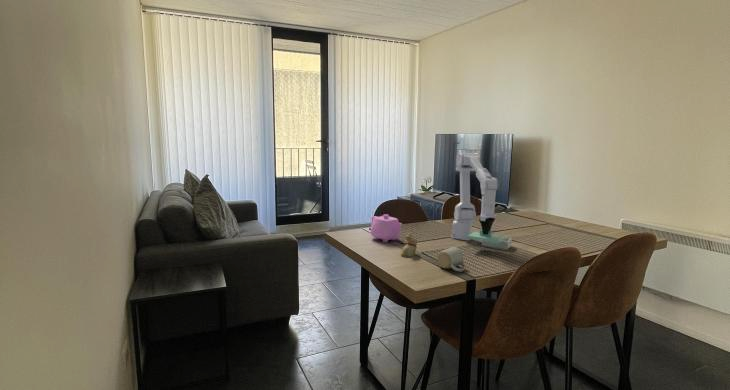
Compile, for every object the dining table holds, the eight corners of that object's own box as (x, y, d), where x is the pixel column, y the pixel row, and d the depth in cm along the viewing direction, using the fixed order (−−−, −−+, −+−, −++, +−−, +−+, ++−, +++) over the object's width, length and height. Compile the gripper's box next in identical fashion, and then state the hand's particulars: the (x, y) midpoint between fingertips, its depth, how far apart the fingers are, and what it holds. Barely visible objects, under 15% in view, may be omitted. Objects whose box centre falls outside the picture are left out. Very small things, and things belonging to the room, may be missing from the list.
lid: (467, 238, 179) (467, 230, 179) (474, 234, 187) (474, 226, 187) (498, 243, 172) (498, 234, 171) (503, 238, 180) (504, 230, 179)
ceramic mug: (435, 266, 157) (436, 248, 156) (448, 262, 163) (449, 244, 161) (456, 274, 149) (458, 255, 148) (469, 270, 155) (471, 251, 153)
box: (481, 246, 189) (481, 237, 189) (486, 242, 196) (486, 234, 195) (507, 250, 183) (507, 242, 182) (511, 246, 189) (511, 238, 189)
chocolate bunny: (419, 256, 171) (420, 233, 169) (402, 256, 169) (402, 234, 168) (415, 252, 176) (416, 230, 175) (398, 253, 175) (399, 231, 173)
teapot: (363, 237, 200) (363, 213, 199) (380, 233, 209) (381, 210, 207) (391, 246, 186) (392, 219, 184) (408, 241, 194) (409, 216, 192)
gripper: (492, 207, 169) (490, 238, 171) (501, 203, 181) (499, 232, 183) (476, 205, 173) (474, 235, 175) (485, 201, 185) (484, 230, 187)
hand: (486, 233), depth 179 cm, fingers closed on lid, 2 cm apart
